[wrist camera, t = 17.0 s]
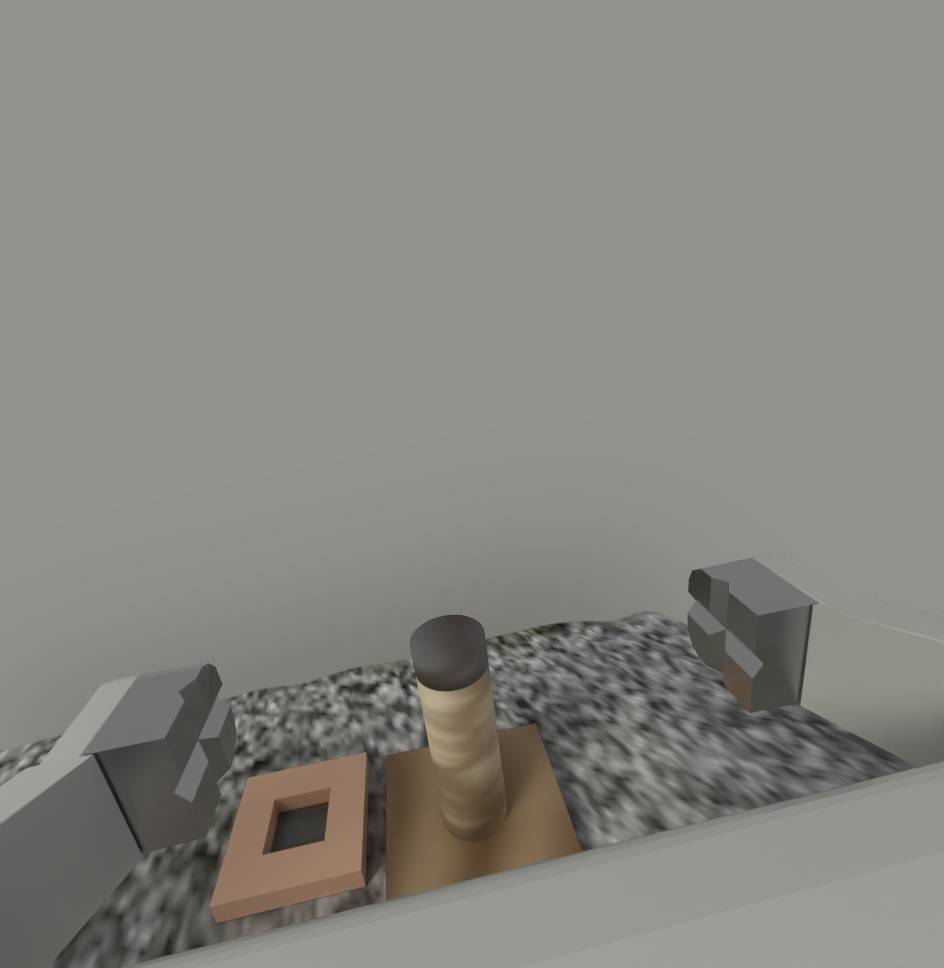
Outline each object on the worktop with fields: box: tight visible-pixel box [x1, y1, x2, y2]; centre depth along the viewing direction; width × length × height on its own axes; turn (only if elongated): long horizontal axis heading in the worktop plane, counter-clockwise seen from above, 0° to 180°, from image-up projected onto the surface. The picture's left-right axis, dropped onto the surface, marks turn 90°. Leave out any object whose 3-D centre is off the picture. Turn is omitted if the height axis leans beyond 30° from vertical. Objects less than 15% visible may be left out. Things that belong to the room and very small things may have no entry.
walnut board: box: [386, 723, 582, 901], centre depth 35 cm, size 12×12×1 cm
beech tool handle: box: [410, 615, 507, 842], centre depth 32 cm, size 4×4×14 cm
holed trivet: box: [209, 752, 370, 923], centre depth 35 cm, size 9×9×2 cm
